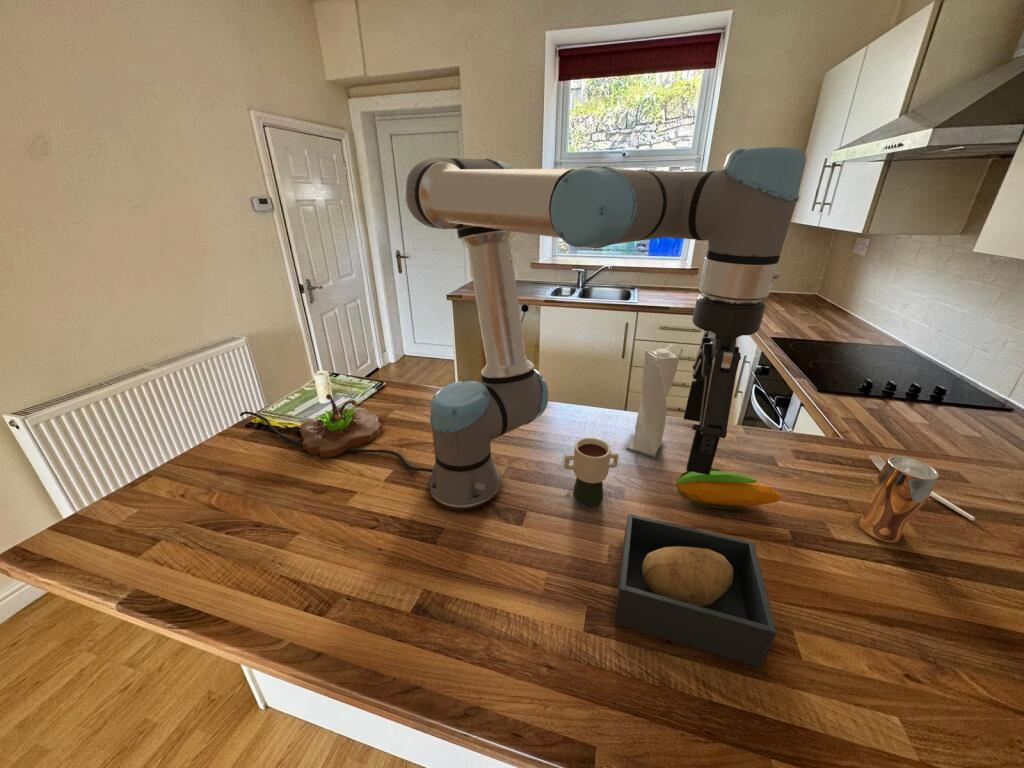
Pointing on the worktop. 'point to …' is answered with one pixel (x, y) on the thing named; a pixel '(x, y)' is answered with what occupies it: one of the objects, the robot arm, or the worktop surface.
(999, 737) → the worktop surface
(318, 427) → the plant
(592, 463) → the character mug
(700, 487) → the corn
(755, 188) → the robot arm
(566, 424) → the worktop surface
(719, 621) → the bin
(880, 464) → the fork
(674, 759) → the worktop surface
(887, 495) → the silver curved cylinder
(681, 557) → the potato
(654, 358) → the skyscraper
